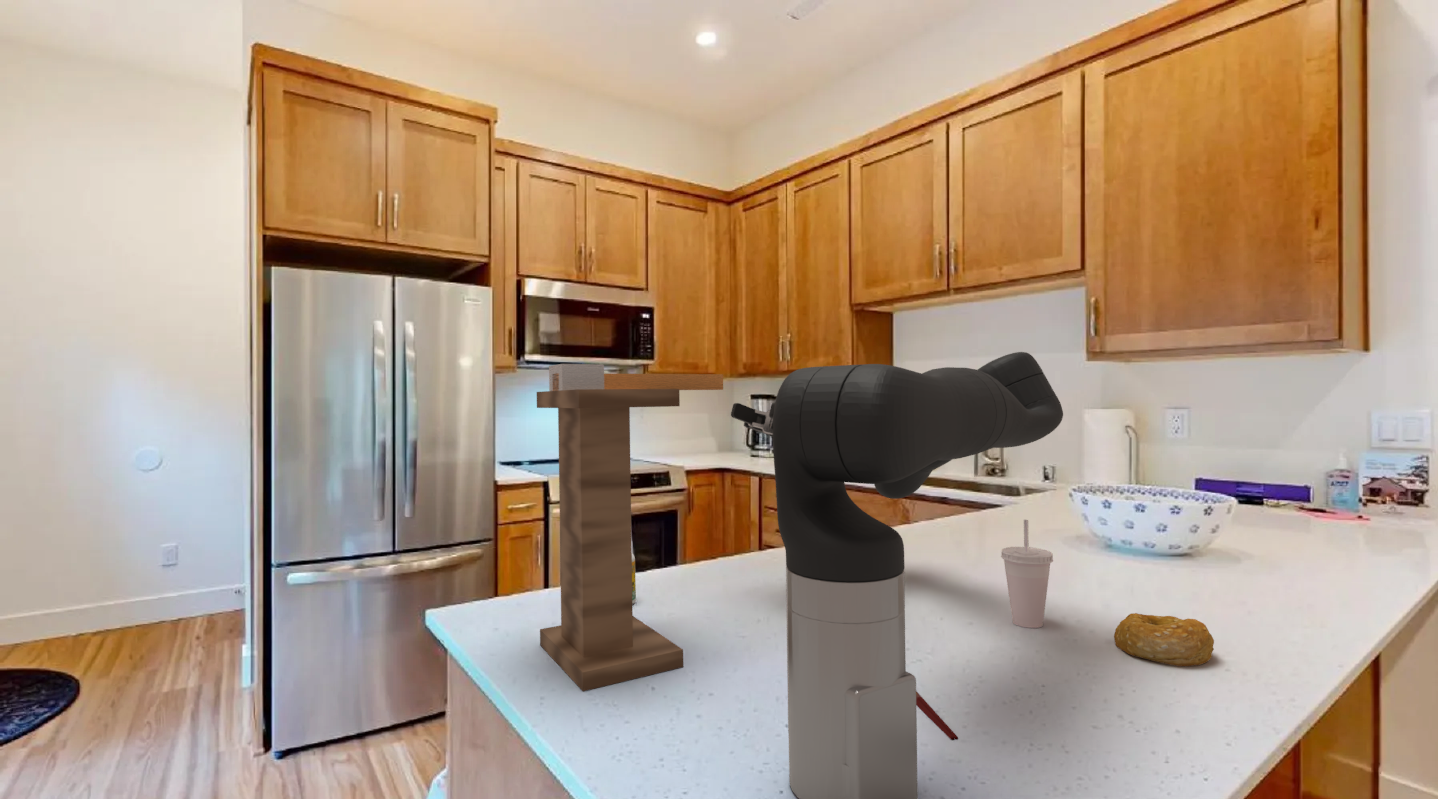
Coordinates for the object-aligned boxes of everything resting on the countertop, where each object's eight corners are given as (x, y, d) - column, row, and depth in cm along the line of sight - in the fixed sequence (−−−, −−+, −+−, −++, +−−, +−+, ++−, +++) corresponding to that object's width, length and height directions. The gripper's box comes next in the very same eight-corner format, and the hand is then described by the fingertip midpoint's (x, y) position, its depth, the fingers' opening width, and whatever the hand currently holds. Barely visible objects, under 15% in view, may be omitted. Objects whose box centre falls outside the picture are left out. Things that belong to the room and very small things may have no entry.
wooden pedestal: (683, 666, 78) (679, 388, 78) (582, 691, 71) (578, 389, 71) (628, 627, 91) (624, 391, 91) (540, 645, 85) (536, 391, 85)
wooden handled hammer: (728, 389, 87) (728, 366, 87) (562, 390, 76) (562, 363, 76) (709, 390, 92) (708, 368, 92) (549, 391, 80) (549, 366, 80)
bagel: (1208, 644, 83) (1207, 605, 83) (1220, 678, 73) (1219, 634, 73) (1114, 632, 88) (1113, 595, 88) (1114, 662, 78) (1113, 621, 78)
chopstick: (948, 745, 60) (948, 734, 60) (855, 648, 84) (855, 640, 84) (968, 743, 61) (968, 732, 61) (870, 647, 84) (870, 639, 84)
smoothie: (999, 627, 89) (998, 521, 89) (1004, 613, 95) (1002, 513, 95) (1053, 634, 86) (1052, 525, 86) (1054, 619, 92) (1053, 517, 92)
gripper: (802, 416, 111) (727, 385, 101) (869, 417, 99) (792, 382, 90) (792, 460, 109) (715, 433, 100) (859, 467, 98) (780, 436, 89)
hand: (752, 409), depth 95 cm, fingers open, 8 cm apart
